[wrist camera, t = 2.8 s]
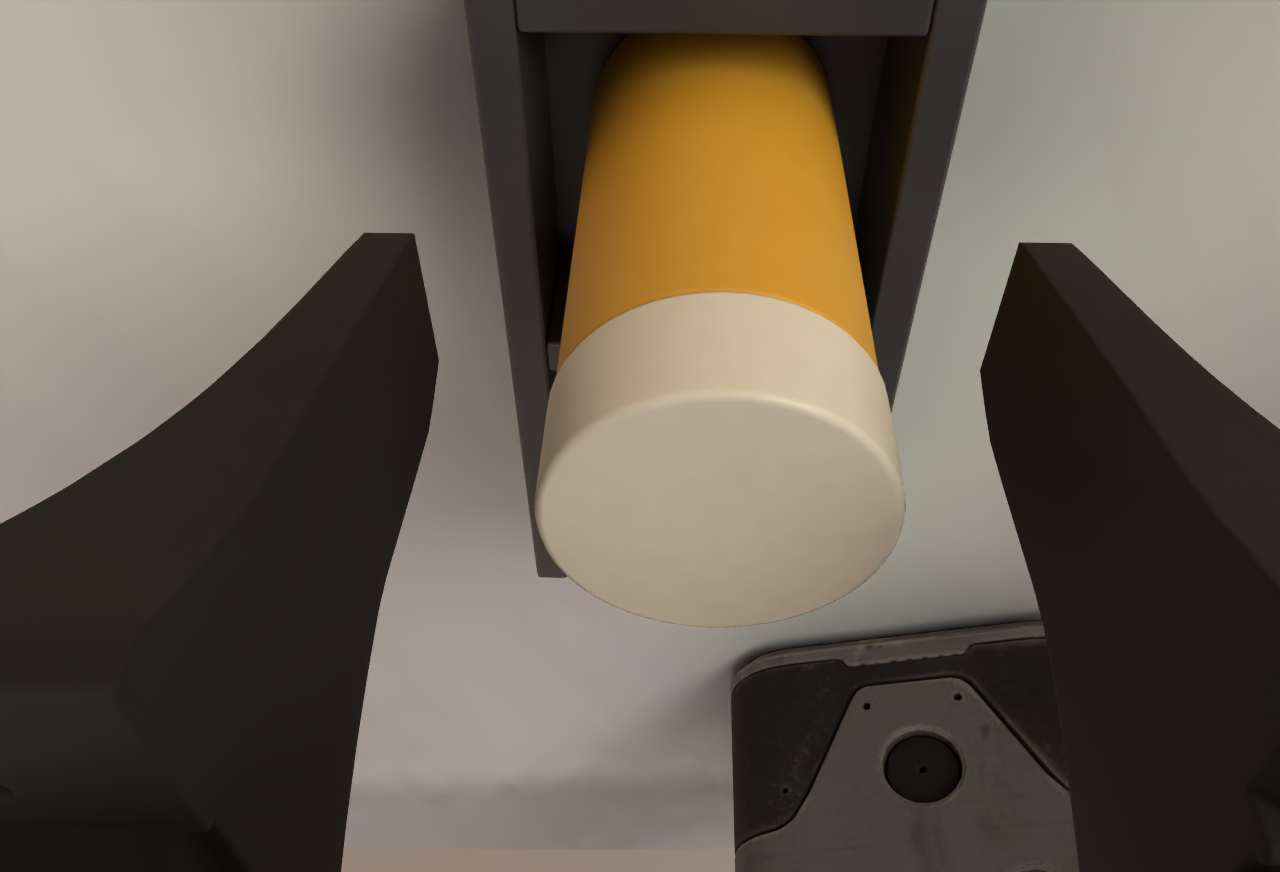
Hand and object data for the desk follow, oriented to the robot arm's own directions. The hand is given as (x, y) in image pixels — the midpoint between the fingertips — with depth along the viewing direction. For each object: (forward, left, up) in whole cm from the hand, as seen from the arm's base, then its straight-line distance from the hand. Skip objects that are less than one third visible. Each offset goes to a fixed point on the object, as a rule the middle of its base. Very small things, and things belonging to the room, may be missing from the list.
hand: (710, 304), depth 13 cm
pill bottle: (0, 0, -4) cm, 5 cm away
